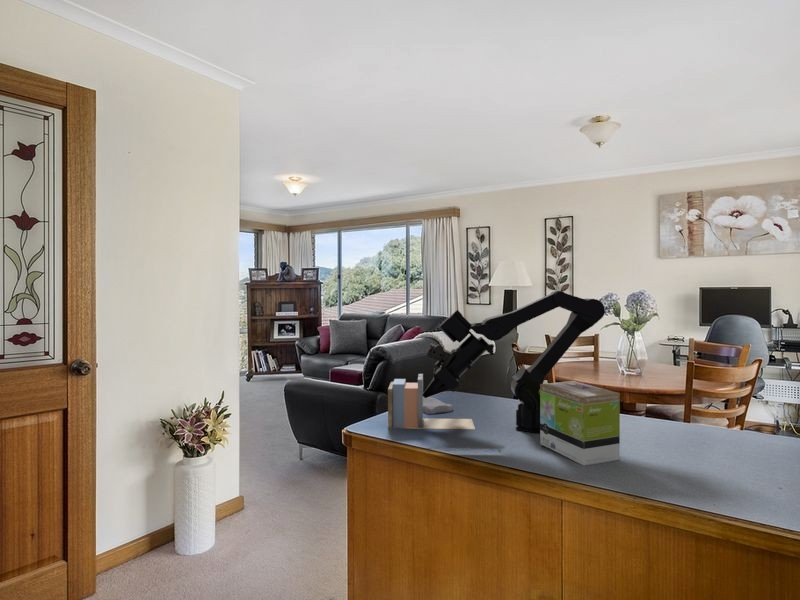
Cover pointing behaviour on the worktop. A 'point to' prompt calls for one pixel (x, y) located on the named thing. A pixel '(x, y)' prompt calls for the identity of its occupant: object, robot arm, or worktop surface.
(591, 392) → the tea box
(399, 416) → the book
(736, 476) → the worktop surface
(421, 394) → the grey flat rectangular panel
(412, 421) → the book
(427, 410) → the stone block
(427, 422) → the wooden book rack
